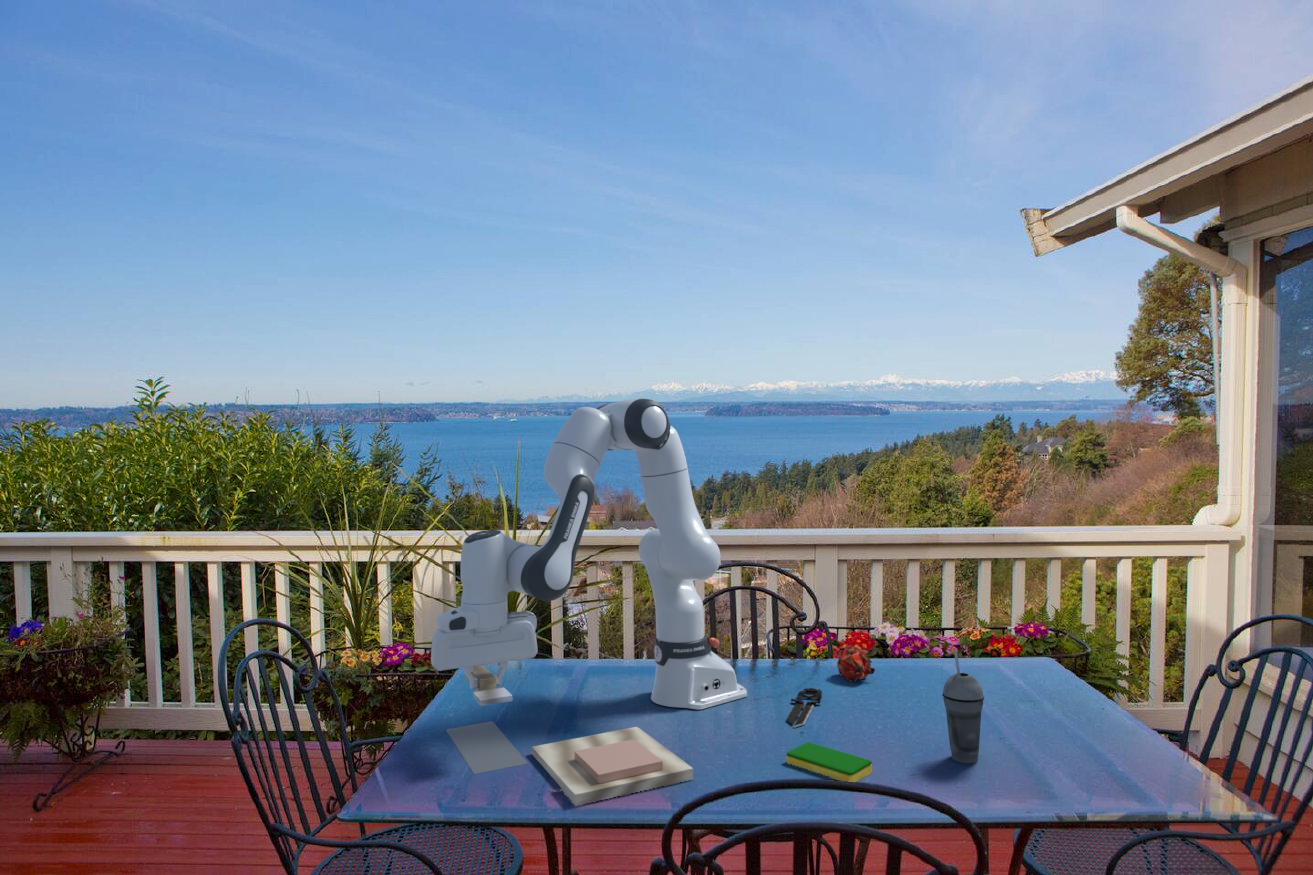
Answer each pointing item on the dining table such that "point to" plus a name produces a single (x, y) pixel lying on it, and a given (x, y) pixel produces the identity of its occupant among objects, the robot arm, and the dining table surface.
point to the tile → (618, 761)
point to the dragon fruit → (854, 663)
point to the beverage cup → (963, 714)
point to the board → (587, 789)
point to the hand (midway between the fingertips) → (485, 686)
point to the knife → (806, 709)
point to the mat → (485, 747)
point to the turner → (488, 688)
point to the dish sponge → (829, 762)
